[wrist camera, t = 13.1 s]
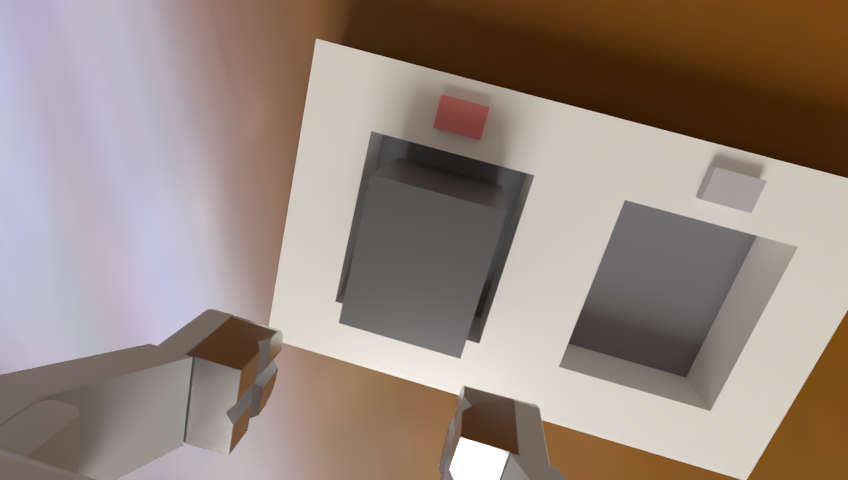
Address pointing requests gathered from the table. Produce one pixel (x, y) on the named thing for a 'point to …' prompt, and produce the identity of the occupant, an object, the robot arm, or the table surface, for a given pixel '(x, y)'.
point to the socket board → (580, 259)
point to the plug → (422, 255)
